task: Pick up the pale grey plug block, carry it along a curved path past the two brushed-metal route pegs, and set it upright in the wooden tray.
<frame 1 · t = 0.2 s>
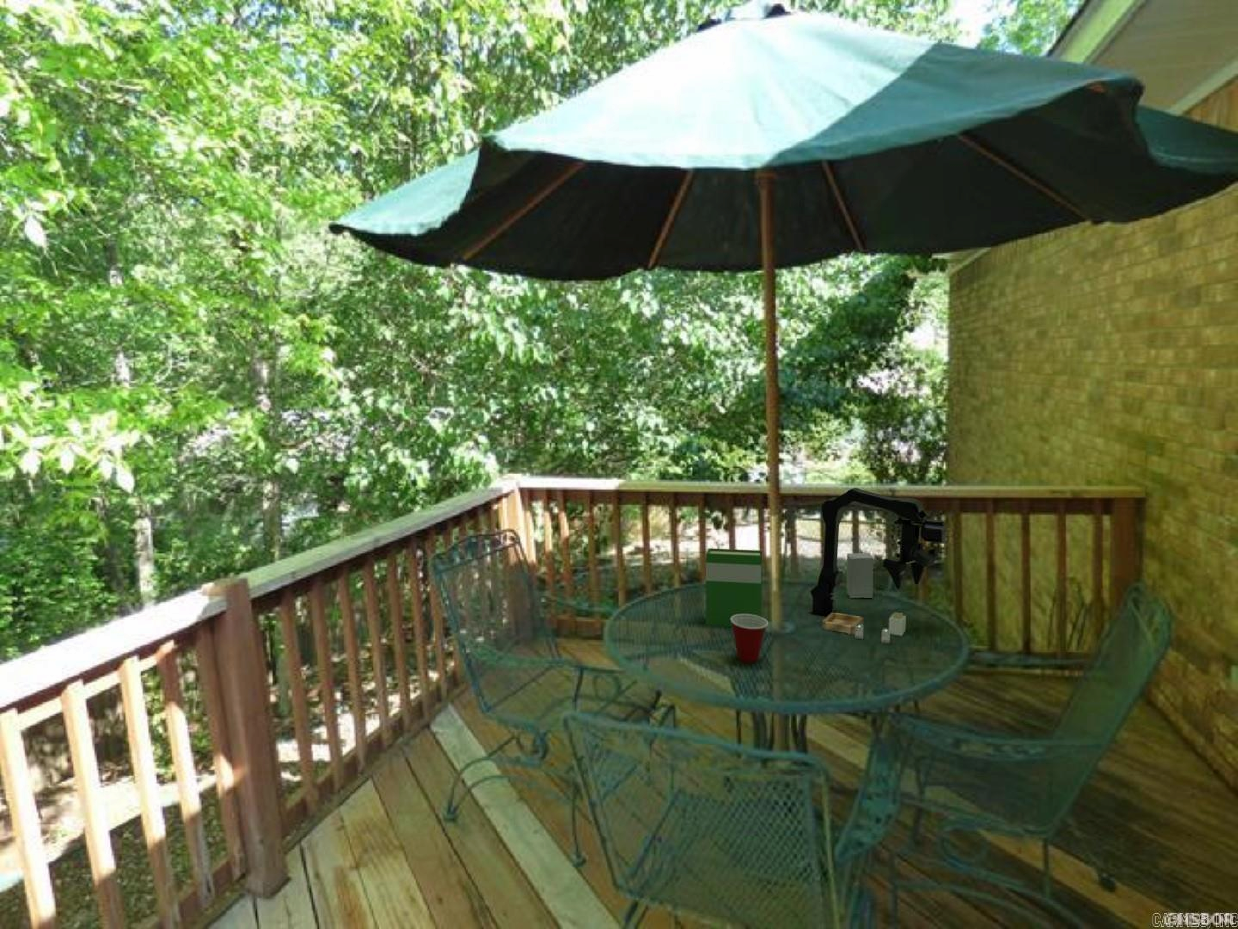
hand: (907, 586, 243), 14 cm above the table, tool pointing down, fingers open, 9 cm apart
skincare box: (859, 597, 278), on the table
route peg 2: (859, 637, 236), on the table
plastic cup: (748, 660, 220), on the table
wooden tray: (842, 627, 246), on the table
plug block: (897, 632, 241), on the table
hardback book: (733, 623, 251), on the table
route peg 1: (885, 642, 232), on the table
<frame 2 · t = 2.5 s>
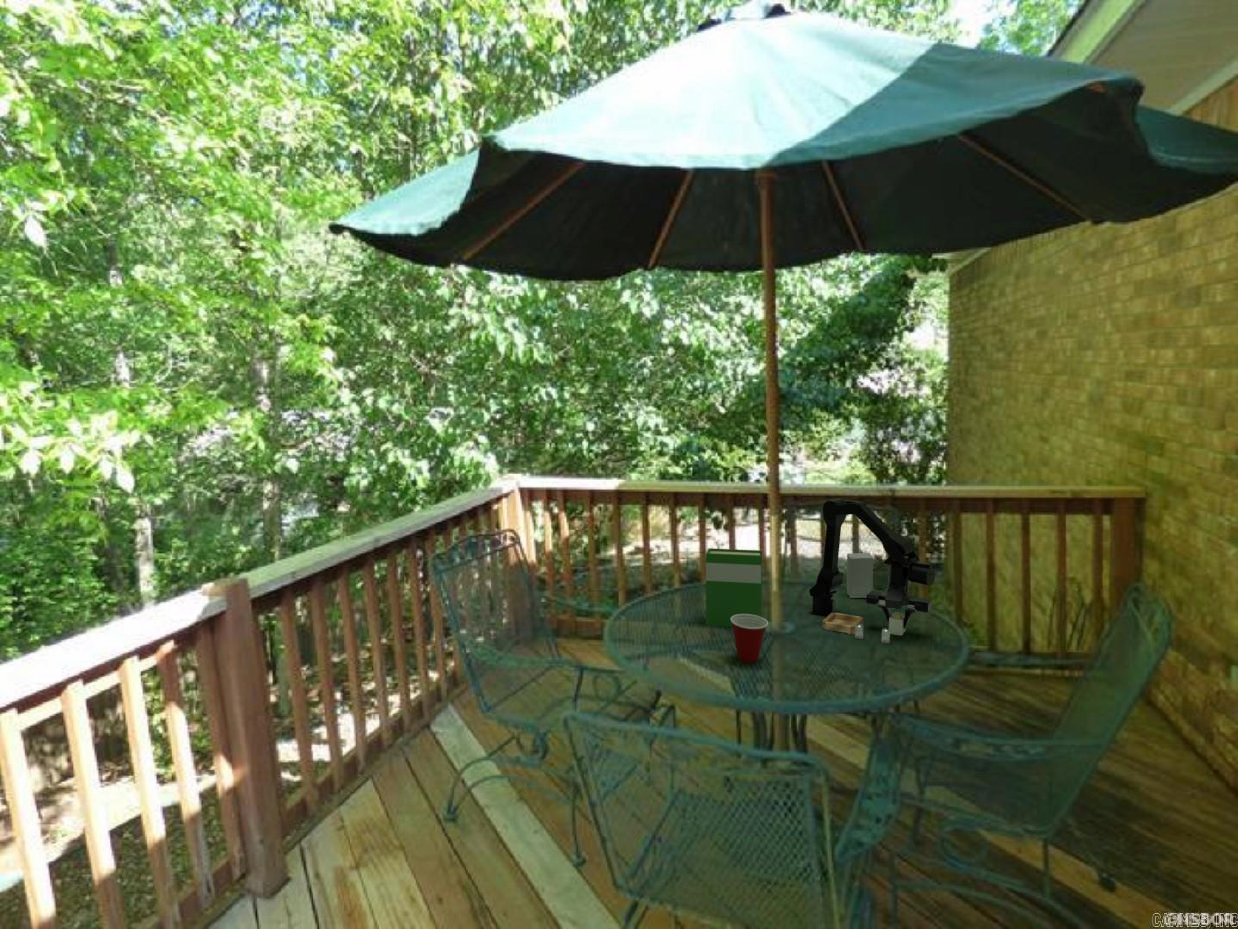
hand: (897, 627, 241), 2 cm above the table, tool pointing down, fingers closed on plug block, 4 cm apart
plug block: (896, 632, 241), on the table, touching gripper
everything else where it was.
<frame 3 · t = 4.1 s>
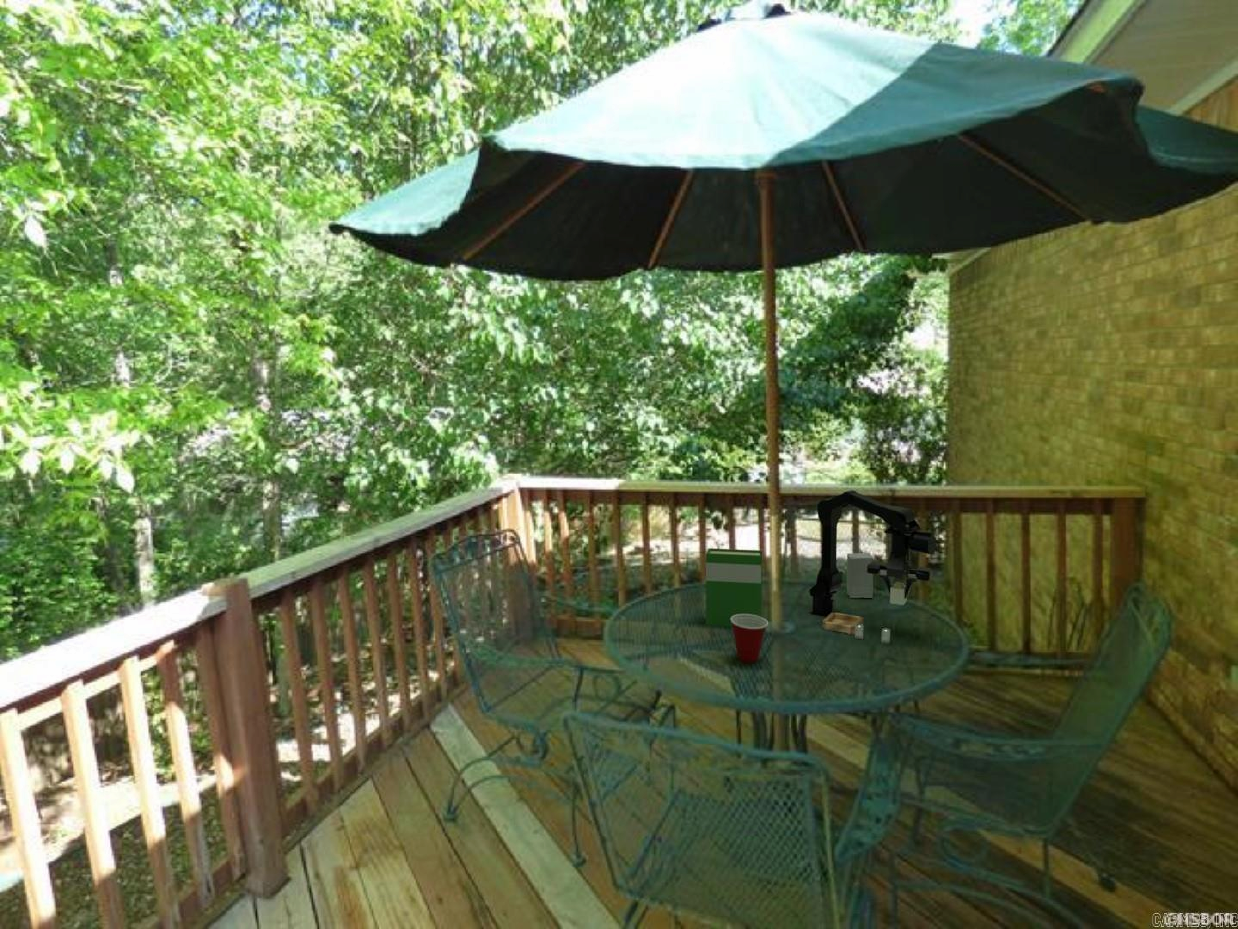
hand: (898, 597, 239), 11 cm above the table, tool pointing down, fingers closed on plug block, 4 cm apart
plug block: (898, 602, 240), point 10 cm above the table, touching gripper
everything else where it was.
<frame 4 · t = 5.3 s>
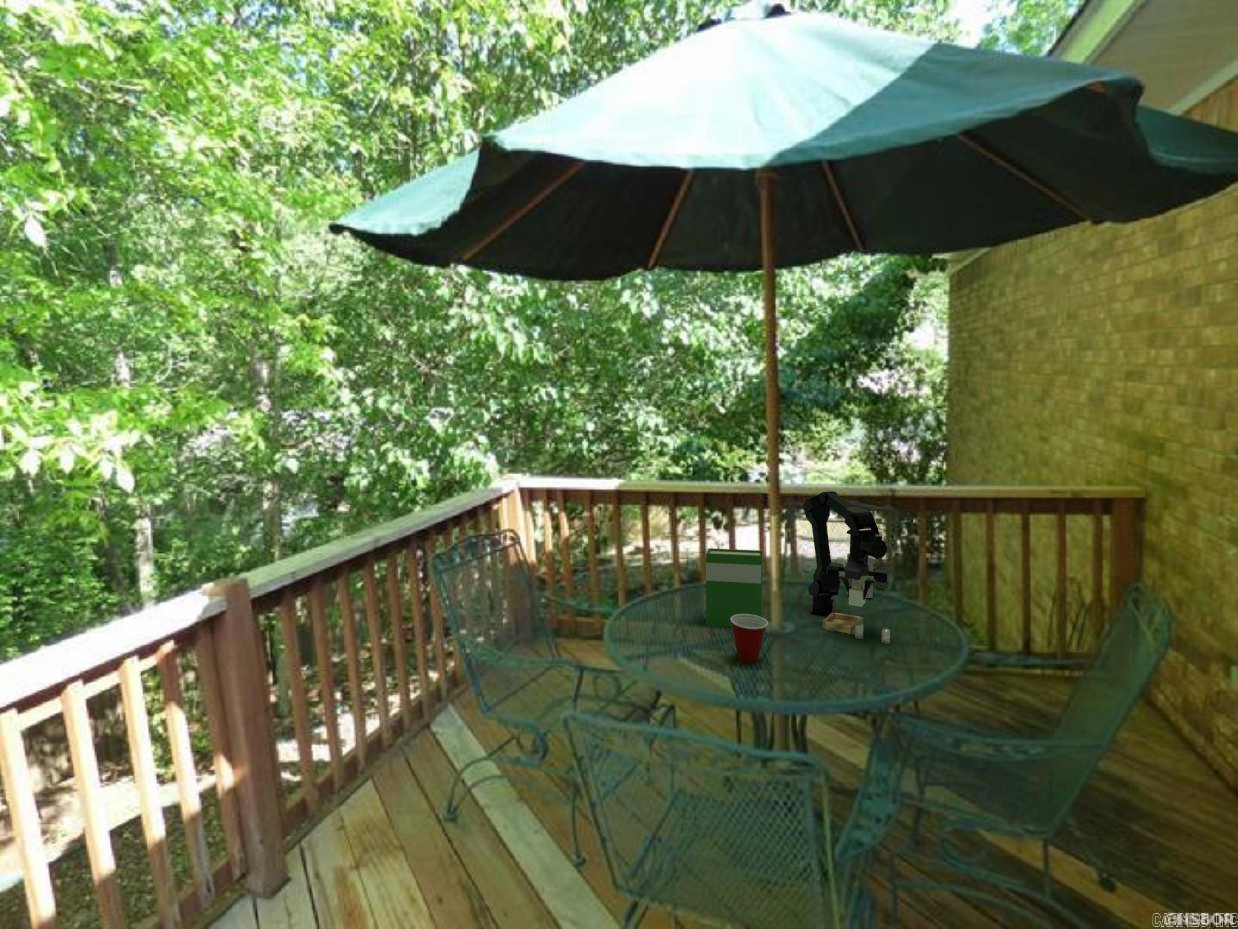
hand: (857, 598, 241), 11 cm above the table, tool pointing down, fingers closed on plug block, 4 cm apart
plug block: (857, 603, 241), point 9 cm above the table, touching gripper
everything else where it was.
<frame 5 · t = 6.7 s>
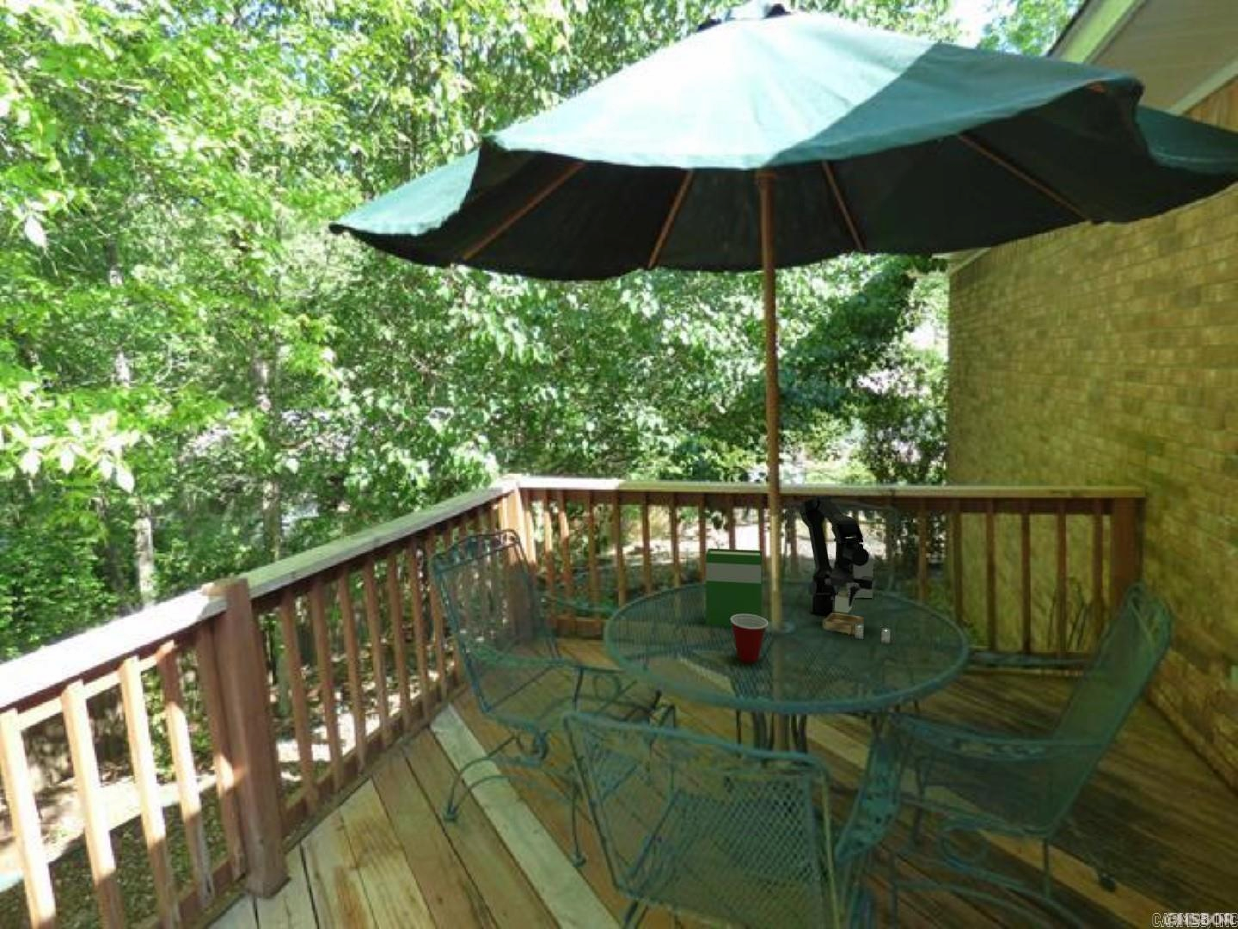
hand: (843, 605, 245), 7 cm above the table, tool pointing down, fingers closed on plug block, 4 cm apart
plug block: (843, 609, 245), point 6 cm above the table, touching gripper
everything else where it was.
when the fingers open (4 cm above the table, at t = 8.1 s): plug block drops 2 cm, resting on wooden tray.
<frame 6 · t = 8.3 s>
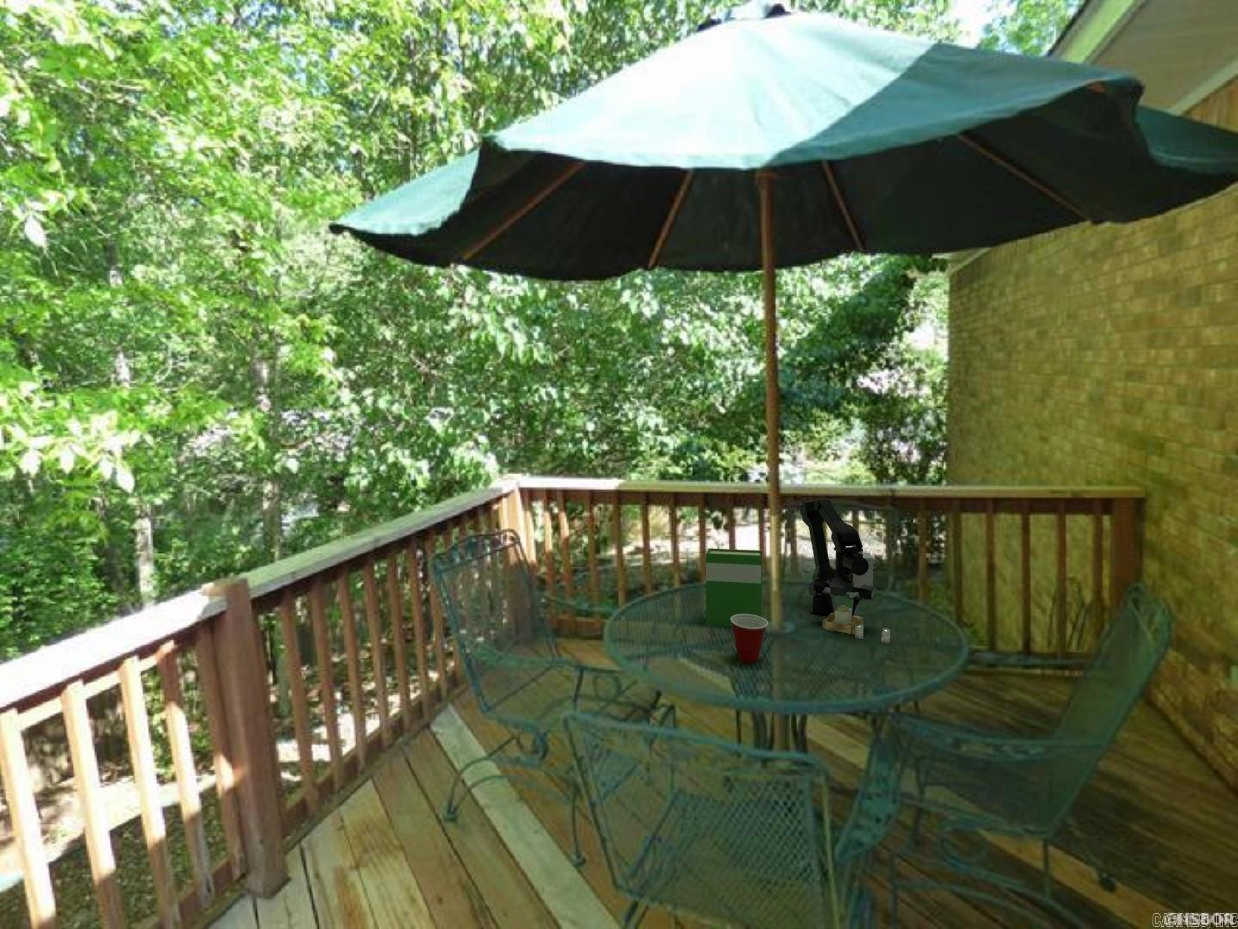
hand: (843, 614, 245), 4 cm above the table, tool pointing down, fingers open, 6 cm apart
plug block: (842, 624, 246), point 1 cm above the table, touching wooden tray
everything else where it was.
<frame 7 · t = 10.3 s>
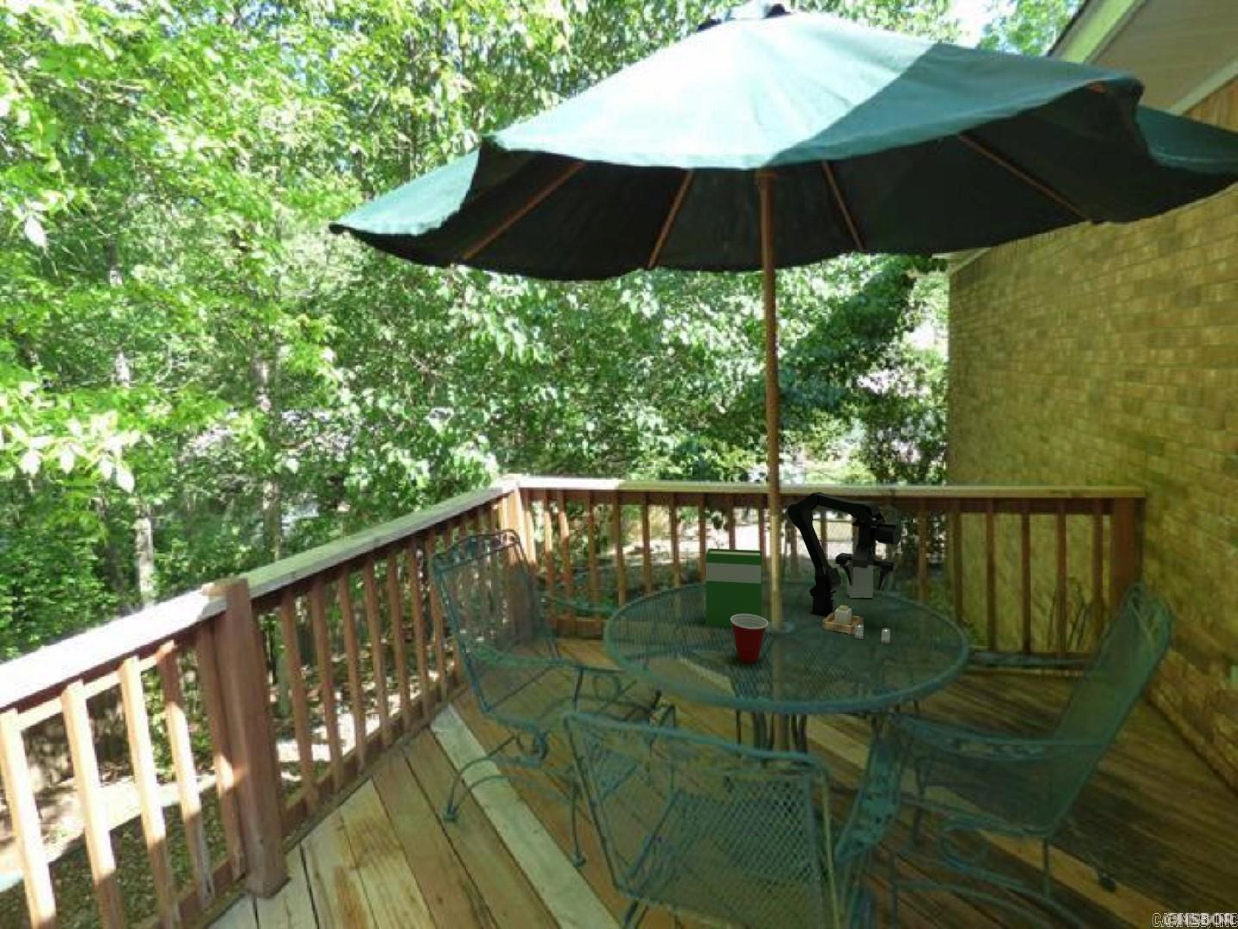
hand: (865, 587, 248), 12 cm above the table, tool pointing down, fingers open, 9 cm apart
nothing on the table moved.
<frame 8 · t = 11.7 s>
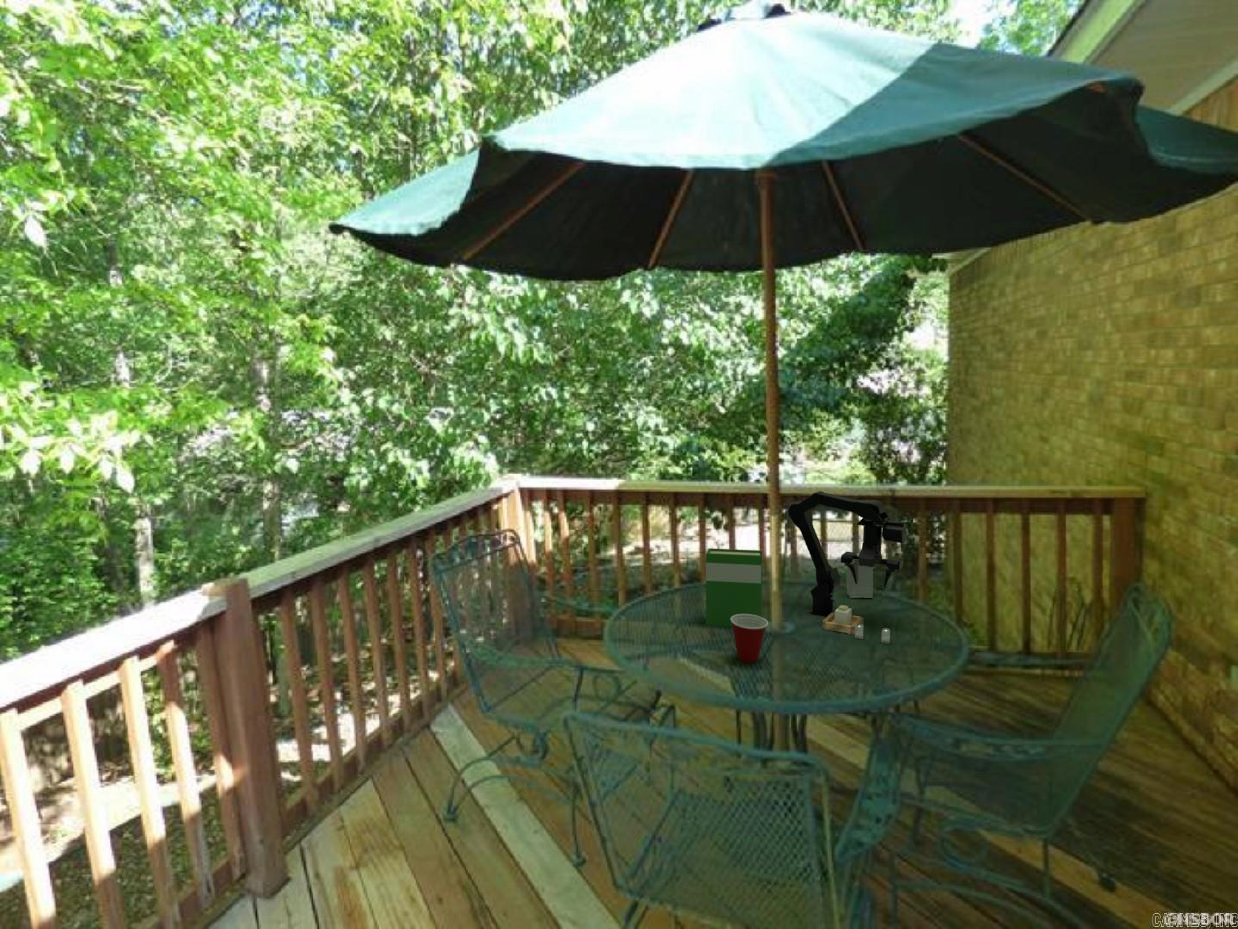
hand: (870, 586, 250), 12 cm above the table, tool pointing down, fingers open, 9 cm apart
nothing on the table moved.
at the end: plug block 0.0 cm off-centre on the wooden tray, point 0.8 cm above the wooden tray's base; plug block tilted 0°; the gripper is holding nothing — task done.
